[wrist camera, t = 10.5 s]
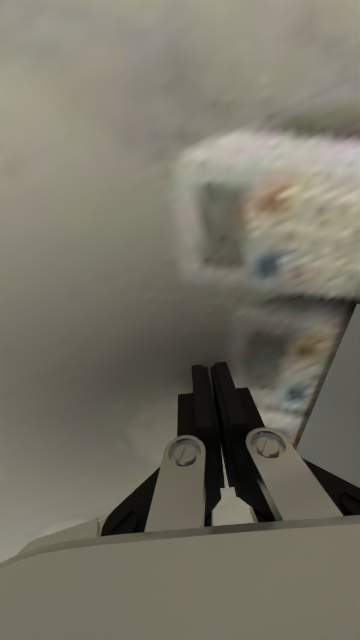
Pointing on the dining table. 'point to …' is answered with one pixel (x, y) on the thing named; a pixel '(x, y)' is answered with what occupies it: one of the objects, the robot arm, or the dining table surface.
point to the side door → (338, 412)
